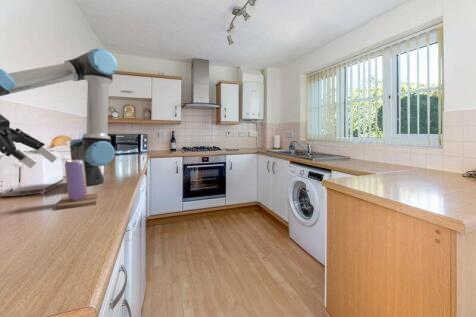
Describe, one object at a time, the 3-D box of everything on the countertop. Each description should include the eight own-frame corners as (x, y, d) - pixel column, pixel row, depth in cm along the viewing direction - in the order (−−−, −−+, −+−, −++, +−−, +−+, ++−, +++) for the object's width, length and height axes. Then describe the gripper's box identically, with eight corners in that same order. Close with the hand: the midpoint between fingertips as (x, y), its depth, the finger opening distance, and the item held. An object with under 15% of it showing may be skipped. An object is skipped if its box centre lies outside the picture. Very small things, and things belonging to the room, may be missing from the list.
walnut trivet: (62, 200, 91) (61, 197, 91) (97, 196, 97) (97, 193, 96) (55, 209, 80) (55, 206, 80) (96, 204, 86) (95, 201, 86)
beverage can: (78, 202, 85) (74, 161, 83) (64, 201, 86) (60, 161, 84) (91, 197, 91) (87, 159, 89) (78, 196, 92) (74, 159, 90)
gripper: (6, 128, 91) (55, 164, 96) (-56, 128, 67) (13, 176, 72) (21, 115, 91) (68, 151, 97) (-36, 109, 67) (31, 158, 73)
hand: (45, 162), depth 84 cm, fingers open, 13 cm apart
